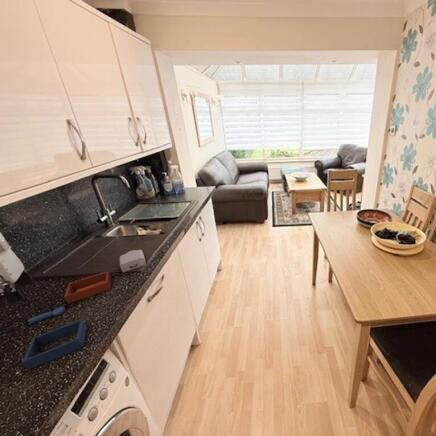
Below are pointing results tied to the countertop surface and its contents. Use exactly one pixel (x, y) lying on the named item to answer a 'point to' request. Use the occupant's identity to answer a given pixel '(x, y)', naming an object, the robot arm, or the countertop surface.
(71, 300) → the red bin
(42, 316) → the blue spoon
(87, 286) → the red spoon
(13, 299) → the robot arm
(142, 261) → the charger
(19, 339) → the countertop surface
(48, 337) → the blue bin
